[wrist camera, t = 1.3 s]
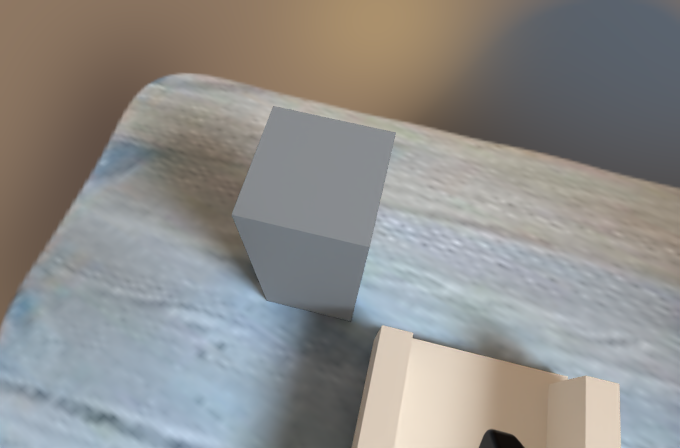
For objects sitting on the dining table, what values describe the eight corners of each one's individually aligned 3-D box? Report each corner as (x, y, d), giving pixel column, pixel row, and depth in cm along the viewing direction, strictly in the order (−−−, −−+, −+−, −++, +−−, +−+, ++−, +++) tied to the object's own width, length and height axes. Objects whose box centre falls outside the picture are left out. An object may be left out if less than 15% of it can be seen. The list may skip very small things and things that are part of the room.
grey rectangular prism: (350, 321, 21) (369, 247, 13) (266, 300, 21) (231, 214, 13) (369, 243, 22) (395, 132, 14) (290, 224, 23) (273, 106, 14)
